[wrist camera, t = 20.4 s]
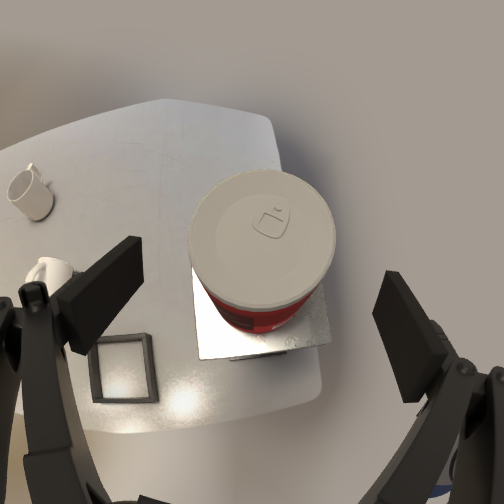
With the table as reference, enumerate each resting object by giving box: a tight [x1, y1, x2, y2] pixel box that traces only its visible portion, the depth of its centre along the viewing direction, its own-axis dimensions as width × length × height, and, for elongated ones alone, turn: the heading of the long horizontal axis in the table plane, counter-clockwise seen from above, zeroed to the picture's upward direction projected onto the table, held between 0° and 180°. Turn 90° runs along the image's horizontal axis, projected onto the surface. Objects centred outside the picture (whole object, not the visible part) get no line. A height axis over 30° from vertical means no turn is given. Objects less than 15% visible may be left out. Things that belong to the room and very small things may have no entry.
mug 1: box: [7, 163, 53, 221], centre depth 59 cm, size 12×9×11 cm
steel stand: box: [191, 264, 332, 361], centre depth 39 cm, size 11×11×30 cm
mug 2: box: [25, 257, 73, 297], centre depth 50 cm, size 8×10×12 cm
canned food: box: [187, 170, 336, 333], centre depth 20 cm, size 8×8×11 cm
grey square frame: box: [87, 333, 159, 403], centre depth 49 cm, size 13×13×3 cm
